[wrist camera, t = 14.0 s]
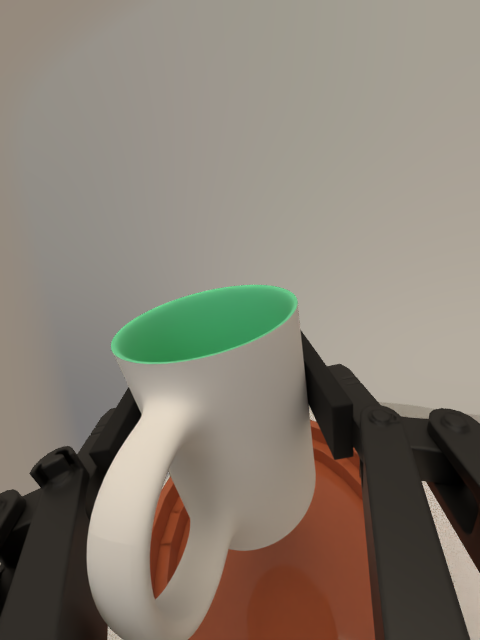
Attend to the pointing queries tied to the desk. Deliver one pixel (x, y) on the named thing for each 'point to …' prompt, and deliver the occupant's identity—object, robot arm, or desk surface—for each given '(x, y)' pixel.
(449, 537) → the desk surface
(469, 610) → the desk surface
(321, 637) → the bowl
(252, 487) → the mug
